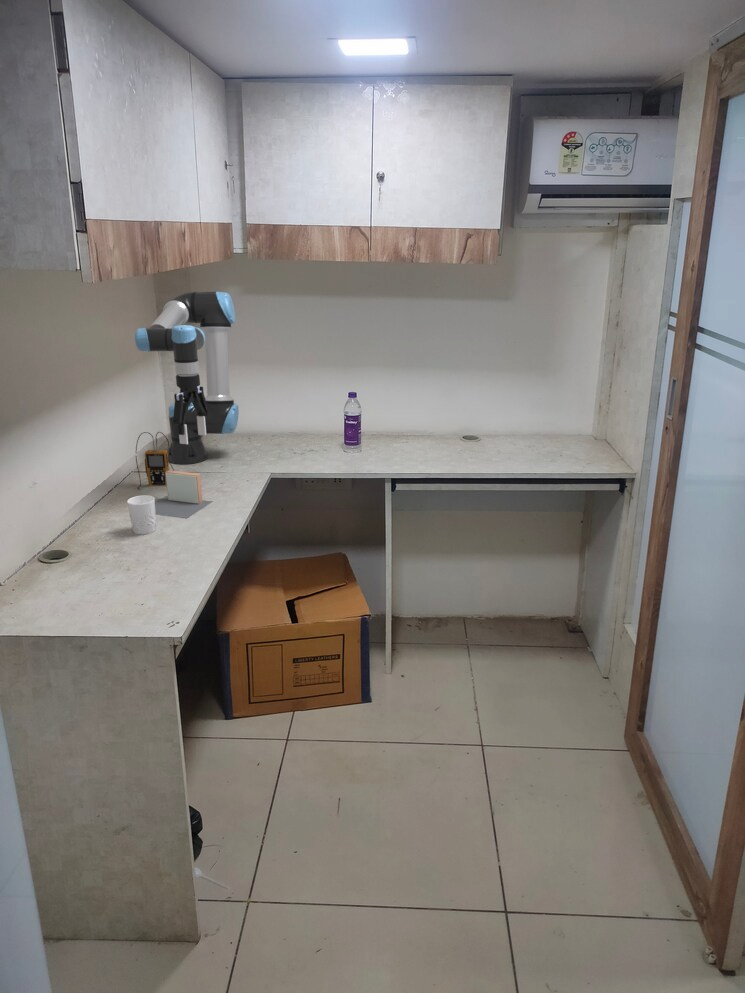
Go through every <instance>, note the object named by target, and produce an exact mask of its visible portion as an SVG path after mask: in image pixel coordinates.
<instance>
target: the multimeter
mask: <svg viewBox="0 0 745 993" xmlns="http://www.w3.org/2000/svg"><path fill="white" fill-rule="evenodd" d="M159 433H160V434H162V435H163V436H164V438H165V439H166V441H167V444H168V446H170V442H169V439H168V437H167V436H166V435H165V434H164V433H163V432H162V431H157V433H156V434H155V437H158V434H159ZM143 434H149V435H150V436H151V438H152V446H153V447H152V449H148V450H145V452H144V457H145V458H144V466H145V473H146V477H147V483H148V486H156V487H159V486H160V487H161V486H166V487H167V483H166V474H165V472H166V471H168V470H170V466H171V469H172V471H175V469H174V467H173V465H172V464H171V462H170V461H169V455H168V454H169V452H168V450H166V449H159V446H158V440H157V438H155V439H154V436H153V435H152V434H151V433H150V432H146V431H144V432H141V433H140V434H139V435H138V438H137V441H136V446H135V452H137V451H138V450H137V449H138V448H137V447H138V443H139V440H140V437H141V436H142V435H143ZM155 445H156V446H155ZM135 462H136V468H137V472H138V478H139V486H138V487H137V490H140V491H142V490H143V491H144V489H143V488H140V487H141V486H142V482H141V475H140V470H139V466H138V460H137V457H135Z"/></svg>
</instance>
